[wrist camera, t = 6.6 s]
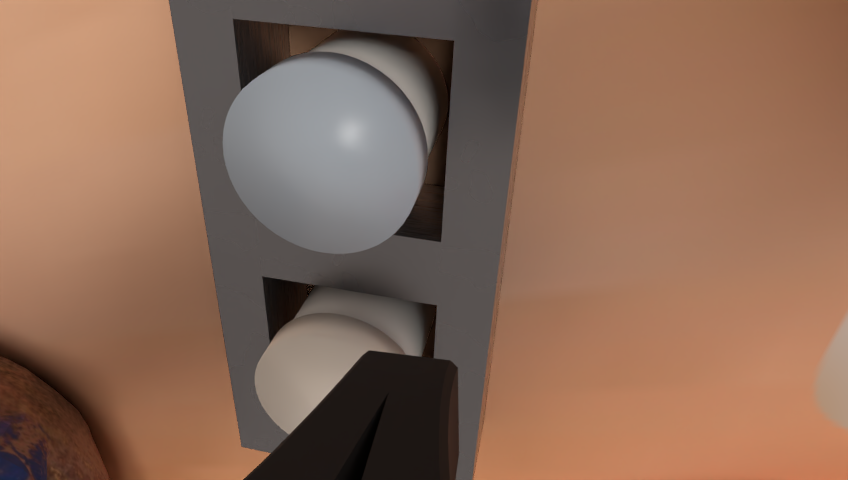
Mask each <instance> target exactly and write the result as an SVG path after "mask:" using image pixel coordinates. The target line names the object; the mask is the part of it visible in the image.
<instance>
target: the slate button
mask: <svg viewBox="0 0 848 480" xmlns="http://www.w3.org/2000/svg"><path fill="white" fill-rule="evenodd" d="M447 110H448V94H447V87H446V83H445V80H444V77H443V74H442V72H441V69H440V67H439V66H438V64H437V62H436V60H435V59H434V58H433V56H432V55H431V54H430V52H429V51H428V50H427V49H426V48H425V47H424V46H423V45H422V44H421V43H420V42H419V41H417V40H416V39H415V38H414V37H411V36H401V35H391V34H381V33H371V32H361V31H351V30H338V31H337V32H335V33H334V34H332V35H331V36H329V37H328V38H327V39H325V40H324V41H323V42H321V43H320V44H318V45H317V46H316V47H314V48H313V49H312V50H310V51H309V52H307V53H302V54H298V55H294V56H291V57H289V58H287V59H284V60H282V61H280V62H279V63H277V64H276V65H274V66H272V67H271V68H269V69H268V70H267V71H265V72H264V73H262V74H261V75H259V76H258V77H257V78H255V79H254V80H252V81H251V82H250V83H249V84H248V85H247V86H245V87H244V88H243V89H242V91H241V92H240V93H239V94H238V96H237V97H236V98H235V100H234V102H233V103H232V105H231V107H230V109H229V112H228V114H227V117H226V120H225V125H224V130H223V155H224V160H225V165H226V168H227V171H228V174H229V177H230V180H231V182H232V184H233V186H234V188H235V190H236V192H237V193H238V195H239V197H240V198H241V200H242V201H243V203H244V204H245V205H246V207H247V208H248V209H249V211H250V212H251V213H252V214H253V215H254V216H255V217H256V218H257V219H258V220H259V221H260V222H261V223H262V224H263V225H265V226H266V227H267V228H268V229H270V230H271V231H272V232H274V233H275V234H277V235H278V236H280V237H282V238H283V239H285V240H287V241H289V242H291V243H293V244H295V245H298V246H300V247H303V248H306V249H309V250H312V251H317V252H322V253H331V254H348V253H355V252H360V251H363V250H367V249H370V248H372V247H374V246H377V245H379V244H380V243H382V242H384V241H385V240H387V239H388V238H390V237H391V236H392V235H393V234H394V233H396V232H397V230H398V229H399V228H400V227H401V226H402V225H403V224H404V222H405V220H406V219H407V217H408V216H409V214H410V212H411V210H412V208H413V206H414V204H415V202H416V200H417V197H418V195H419V193H420V191H421V189H422V187H423V184H424V181H425V177H426V174H427V167H428V157H429V155H430V153H431V151H432V149H433V147H434V145H435V143H436V141H437V139H438V137H439V135H440V133H441V131H442V129H443V127H444V124H445V120H446V117H447Z"/></svg>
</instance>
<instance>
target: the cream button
mask: <svg viewBox="0 0 848 480" xmlns="http://www.w3.org/2000/svg"><path fill="white" fill-rule="evenodd" d="M434 316H435V305H432V304H426V303H420V302H414V301H408V300H402V299H396V298H390V297H384V296H378V295H372V294H366V293H360V292H354V291H348V290H342V289H336V288H330V287H324V286H318V285H315V286H314V287H313V289H312V291H311V292H310V294H309V295H308V297H307V299H306V300H305V302H304V303H303V305H302V307H301V308H300V310H299V312H298V313H297V315H296V316H295V318H294V319H293V320H292V321H290V322H288V323H287V324H285V325H284V326H283V327H282V328H281V329H280V330H279V331H278V332H277V333H276V335H275V336H274V338H273V340H272V341H271V343H270V344H269V346H268V347H267V349H266V351H265V352H264V354H263V355H262V357H261V359H260V360H259V362H258V364H257V367H256V370H255V388H256V393H257V395H258V398H259V401H260V402H261V404H262V406H263V408H264V410H265V411H266V412H267V414H268V415H269V416H270V418H271V419H272V420H273V421H274V422H275V423H276V424H277V425H278V426H279V427H280V428H281V429H282V430H284V431H285V432H286V433H287V434H290V433H291V432H292V431H293V430H294V429H295V428H296V427H297V426H298V425H299V424H300V423H301V422H302V421H303V420H304V419H305V418H306V417H307V416H308V415H309V414H310V413H311V412H312V411H313V409H314V408H315V407H316V406H317V405H318V404H319V403H320V402H321V401H322V400H323V399H324V398H325V397H326V395H327V394H328V393H329V392H330V391H331V390H332V389H333V388H334V387H335V386H336V384H337V383H338V382H339V381H340V380H341V379H342V378H343V377H344V375H345V374H346V373H347V372H348V371H349V370H350V369H351V368H352V366H353V365H354V364H355V363H356V362H357V361H358V360H359V358H360V357H361V356H362V355H363V354H365V353H366V352H367V351H369V350H371V351H379V352H388V353H396V354H404V355H412V356H420V357H422V354H423V351H424V348H425V345H426V342H427V339H428V336H429V333H430V329H431V326H432V323H433V320H434Z"/></svg>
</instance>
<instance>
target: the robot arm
mask: <svg viewBox="0 0 848 480" xmlns="http://www.w3.org/2000/svg"><path fill="white" fill-rule="evenodd" d="M458 458H459V410H458V367H457V366H456V365H455V364H454V363H453V362H452V361H451V360H444V359H436V358H428V357H420V356H412V355H404V354H396V353H388V352H379V351H371V350H369V351H367V352H366V353H365V354H363V355H362V356H361V357H360V358H359V360H358V361H357V362H356V363H355V364H354V365H353V366H352V368H351V369H350V370H349V371H348V372H347V373H346V374H345V375H344V377H343V378H342V379H341V380H340V381H339V382H338V383H337V384H336V386H335V387H334V388H333V389H332V390H331V391H330V392H329V393H328V394H327V395H326V397H325V398H324V399H323V400H322V401H321V402H320V403H319V404H318V405H317V406H316V407H315V408H314V409H313V411H312V412H311V413H310V414H309V415H308V416H307V417H306V418H305V419H304V420H303V421H302V422H301V423H300V424H299V425H298V426H297V427H296V428H295V429H294V430H293V431H292V432H291V433H290V434H289V435H288V436H287V437H286V438H285V439H284V440H283V441H282V442H281V443H280V445H279V446H278V447H277V448H276V449H275V450H274V451H273V452H272V453H271V454H270V455H269V456H268V457H267V458H266V459H265V460H264V461H263V462H262V463H261V464H259V465H258V466H257V467H256V468H255V469H254V470H253V471H252V472H251V473H250V474H249V475H248V476H247V477H246V478H244V479H243V480H456V472H457V465H458Z"/></svg>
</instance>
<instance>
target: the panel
mask: <svg viewBox="0 0 848 480" xmlns="http://www.w3.org/2000/svg"><path fill="white" fill-rule="evenodd" d="M537 2H538V0H169V4H170V10H171V16H172V22H173V28H174V34H175V41H176V47H177V53H178V59H179V65H180V71H181V77H182V84H183V90H184V96H185V102H186V108H187V114H188V120H189V127H190V133H191V139H192V145H193V151H194V157H195V163H196V170H197V176H198V182H199V188H200V194H201V200H202V206H203V212H204V219H205V225H206V231H207V237H208V243H209V249H210V255H211V262H212V268H213V274H214V280H215V286H216V292H217V298H218V305H219V311H220V317H221V323H222V329H223V335H224V341H225V348H226V354H227V360H228V366H229V372H230V378H231V384H232V390H233V397H234V403H235V409H236V415H237V421H238V427H239V433H240V440H241V446H242V447H245V448H250V449H255V450H259V451H264V452H269V453H272V452H273V451H274V450H275V449H276V448H277V447H278V446H279V445H280V443H281V442H282V441H283V440H284V439H285V438H286V437H287V436H288V435H289V434H287V433H286V432H285V431H284V430H282V429H281V428H280V427H279V426H278V425H277V424H276V423H275V422H274V421H273V420H272V419H271V418H270V416H269V415H268V414H267V412H266V411H265V410H264V408H263V406H262V404H261V402H260V401H259V398H258V395H257V393H256V388H255V370H256V367H257V364H258V362H259V360H260V359H261V357H262V355H263V354H264V352H265V351H266V349H267V347H268V346H269V344H270V343H271V341H272V340H273V338H274V336H275V335H276V333H277V332H278V331H279V330H280V329H281V328H282V327H283V326H284V325H285V324H287V323H288V322H290V321H292V320H293V319H294V318H295V316H296V315H297V313H298V312H299V310H300V308H301V307H302V305H303V303H304V302H305V300H306V299H307V290H306V284H312V285H318V286H324V287H330V288H336V289H342V290H348V291H354V292H360V293H366V294H372V295H378V296H384V297H390V298H396V299H402V300H408V301H414V302H420V303H426V304H432V305H437V314H436V329H435V345H434V358H436V359H444V360H451V361H452V362H453V363H454V364H455V365H456V366H457V367H458V410H459V458H458V465H457V472H456V480H473V478H474V473H475V467H476V462H477V456H478V451H479V445H480V440H481V434H482V429H483V422H484V414H485V406H486V398H487V391H488V383H489V375H490V367H491V360H492V352H493V344H494V336H495V329H496V321H497V313H498V305H499V297H500V290H501V282H502V274H503V266H504V259H505V251H506V243H507V235H508V228H509V220H510V212H511V204H512V196H513V189H514V181H515V173H516V165H517V158H518V150H519V142H520V134H521V127H522V119H523V111H524V103H525V95H526V88H527V80H528V72H529V64H530V57H531V49H532V41H533V33H534V26H535V18H536V10H537ZM288 24H290V25H300V26H310V27H320V28H330V29H340V30H351V31H361V32H371V33H381V34H391V35H401V36H411V37H421V38H431V39H441V40H452V41H454V51H453V66H452V82H451V97H450V113H449V128H448V144H447V159H446V175H445V187H443V186H436V185H428V184H423V187H422V189H421V191H420V193H419V195H418V197H417V200H416V202H415V204H414V206H413V208H412V210H411V212H410V214H409V216H408V217H407V219H406V220H405V222H404V224H403V225H402V226H401V227H400V228H399V229H398V230H397V232H396V233H394V234H393V235H392V236H391V237H390V238H388V239H387V240H385V241H384V242H382V243H380V244H379V245H377V246H374V247H372V248H370V249H367V250H363V251H360V252H355V253H348V254H331V253H322V252H317V251H312V250H309V249H306V248H303V247H300V246H298V245H295V244H293V243H291V242H289V241H287V240H285V239H283V238H282V237H280V236H278V235H277V234H275V233H274V232H272V231H271V230H270V229H268V228H267V227H266V226H265V225H263V224H262V223H261V222H260V221H259V220H258V219H257V218H256V217H255V216H254V215H253V214H252V213H251V212H250V211H249V209H248V208H247V207H246V205H245V204H244V203H243V201H242V200H241V198H240V197H239V195H238V193H237V192H236V190H235V188H234V186H233V184H232V182H231V180H230V177H229V174H228V171H227V168H226V165H225V160H224V155H223V130H224V125H225V120H226V117H227V114H228V112H229V109H230V107H231V105H232V103H233V102H234V100H235V98H236V97H237V96H238V94H239V93H240V92H241V91H242V89H243V88H244V87H245V86H247V85H248V84H249V83H250V82H251V81H252V80H254V79H255V78H257V77H258V76H259V75H261V74H262V73H264V72H265V71H267V70H268V69H269V68H271V67H272V66H274V65H276V64H277V63H279V62H280V61H282V60H284V59H287V58H289V57H290V48H289V33H288Z"/></svg>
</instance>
